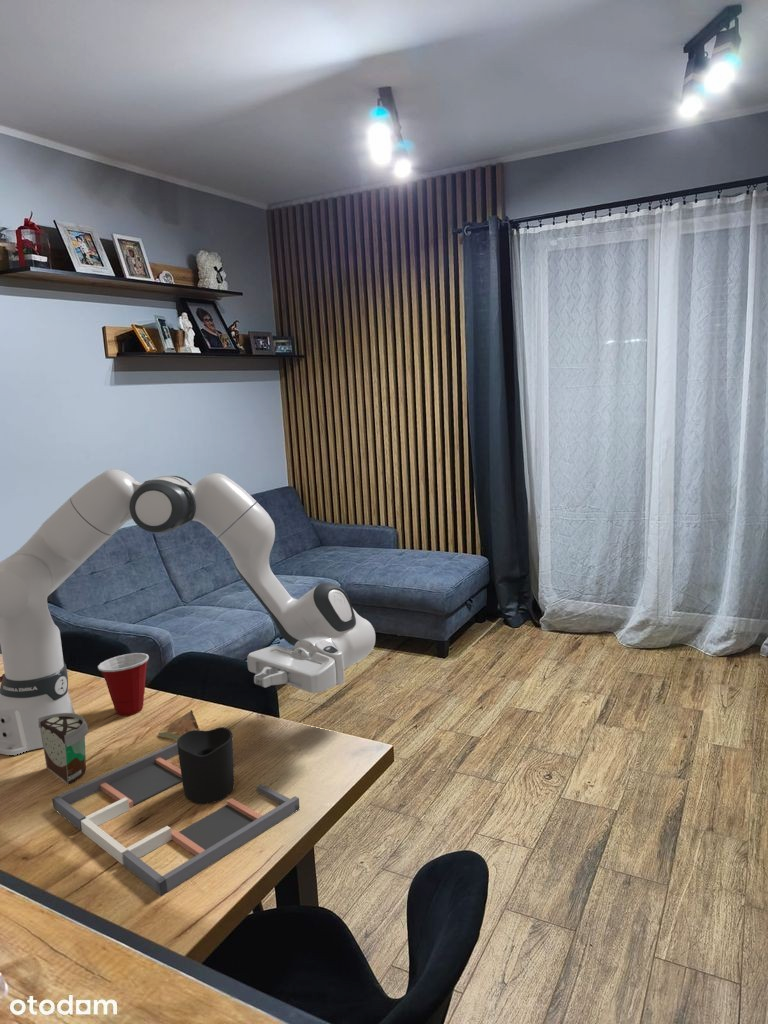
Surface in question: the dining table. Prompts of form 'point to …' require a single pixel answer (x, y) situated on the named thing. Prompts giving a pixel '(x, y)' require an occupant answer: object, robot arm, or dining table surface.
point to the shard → (179, 727)
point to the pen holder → (206, 764)
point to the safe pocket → (111, 844)
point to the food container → (64, 745)
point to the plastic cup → (126, 681)
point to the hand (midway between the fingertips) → (258, 682)
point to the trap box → (200, 838)
